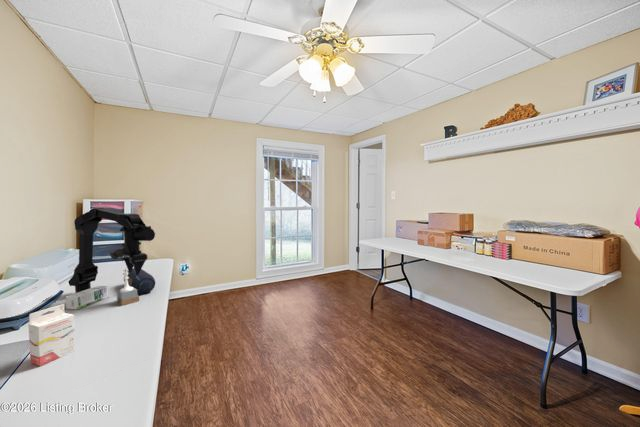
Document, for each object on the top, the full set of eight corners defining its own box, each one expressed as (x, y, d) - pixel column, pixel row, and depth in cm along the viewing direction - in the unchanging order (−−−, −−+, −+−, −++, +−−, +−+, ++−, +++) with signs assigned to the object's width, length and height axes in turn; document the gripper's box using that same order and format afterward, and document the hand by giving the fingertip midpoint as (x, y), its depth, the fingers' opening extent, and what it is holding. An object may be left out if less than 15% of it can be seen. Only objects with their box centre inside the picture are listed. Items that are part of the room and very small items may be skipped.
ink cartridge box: (40, 367, 73) (36, 316, 72) (30, 363, 75) (26, 314, 74) (76, 350, 81) (73, 304, 80) (67, 347, 83) (64, 302, 82)
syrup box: (75, 297, 111) (108, 285, 125) (64, 296, 112) (98, 285, 126) (76, 310, 111) (109, 297, 125) (65, 309, 112) (99, 296, 126)
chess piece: (124, 288, 122) (123, 267, 121) (135, 288, 122) (134, 267, 122) (117, 292, 117) (116, 270, 116) (128, 291, 117) (127, 270, 117)
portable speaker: (122, 286, 141) (121, 268, 141) (143, 282, 149) (143, 265, 148) (134, 298, 124) (133, 278, 124) (157, 292, 132) (157, 273, 131)
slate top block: (117, 296, 119) (117, 290, 119) (132, 293, 124) (132, 286, 124) (121, 299, 116) (121, 293, 115) (137, 295, 120) (137, 289, 120)
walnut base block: (117, 303, 119) (117, 297, 119) (134, 298, 125) (133, 292, 124) (122, 306, 115) (121, 300, 115) (139, 302, 121) (139, 295, 120)
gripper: (104, 241, 121) (106, 274, 121) (117, 245, 109) (119, 281, 110) (132, 238, 129) (134, 268, 130) (147, 241, 118) (148, 274, 119)
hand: (133, 273), depth 122 cm, fingers open, 9 cm apart
